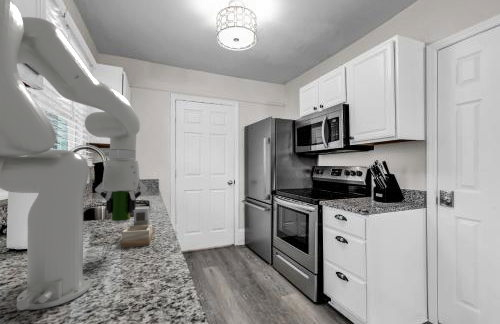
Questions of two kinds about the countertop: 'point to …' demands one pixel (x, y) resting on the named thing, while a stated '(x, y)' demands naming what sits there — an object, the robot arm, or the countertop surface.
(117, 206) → the beer can
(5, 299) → the countertop surface
